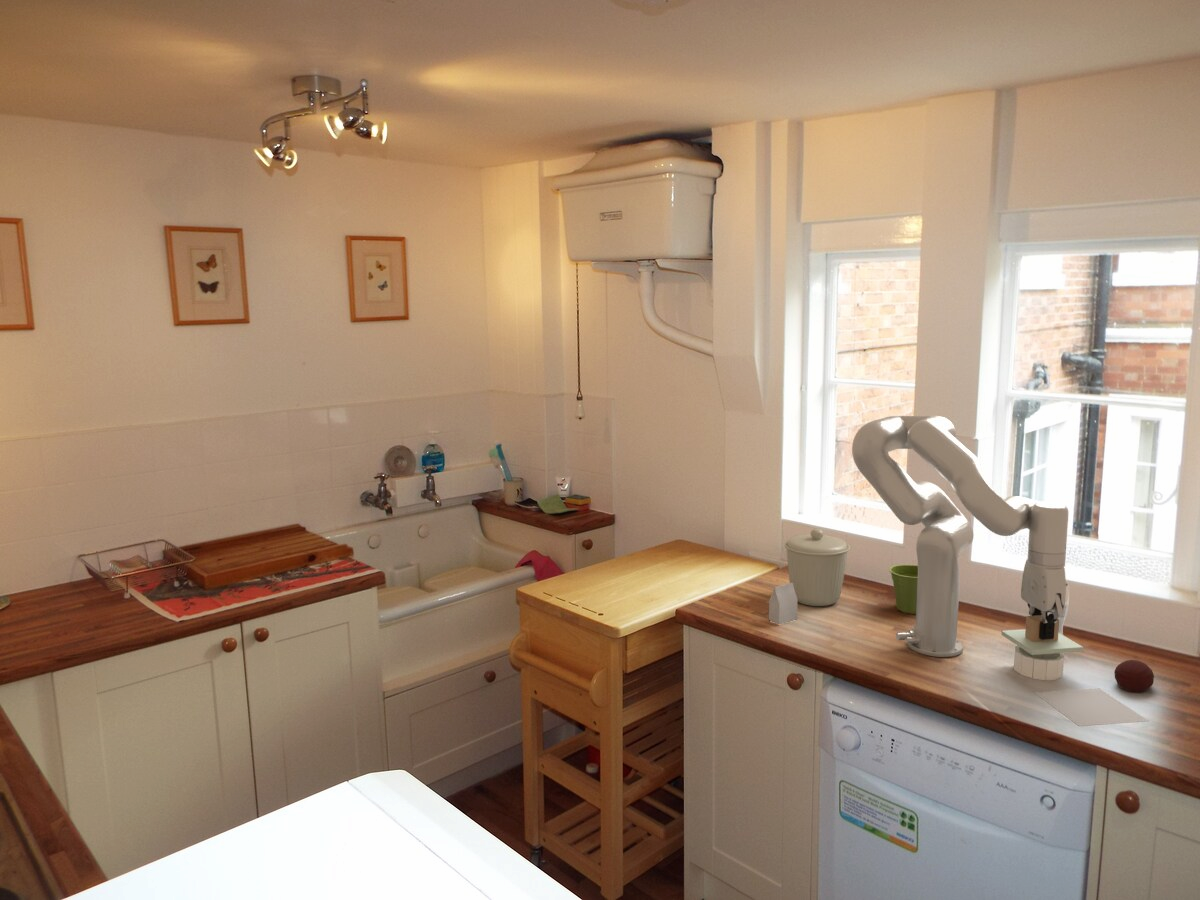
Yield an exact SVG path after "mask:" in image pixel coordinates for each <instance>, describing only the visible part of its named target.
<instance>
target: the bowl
mask: <svg viewBox="0 0 1200 900" xmlns="http://www.w3.org/2000/svg"><path fill="white" fill-rule="evenodd" d="M1013 656H1014V659H1013V670H1014V671H1016V672H1017V673H1019V674H1020V675H1021V676H1024V677H1028V678H1030V679H1034V680H1035V679H1036V680H1041V681H1054V680H1055V681H1056V680H1059V679H1060V678H1062V677H1063V676H1064V664H1065V654H1064V653H1053V654H1038V655H1031V654H1030V653H1028V652H1027V651H1025V650H1024V649H1022V648H1021V647H1019V646H1018V645H1015V647H1014V655H1013Z"/></svg>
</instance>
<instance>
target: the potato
mask: <svg viewBox="0 0 1200 900" xmlns="http://www.w3.org/2000/svg"><path fill="white" fill-rule="evenodd" d="M1114 678H1115V679H1114V680H1115V681H1116V683H1117V685H1118V686H1119V687H1120V688H1122V689H1123V690H1125V691H1128V692H1132V693H1142V692H1146V691H1147V690H1149V689H1150V688H1151V687H1152V686H1153V685H1154V681H1155V680H1154V679H1155V675H1154V673H1153V669H1152V668H1150V666H1148V664H1146V663H1145V662H1143V661H1140V660H1136V659H1129V660H1124V661H1122V662H1121V663H1119V664H1118V665H1117V666H1115V669H1114Z"/></svg>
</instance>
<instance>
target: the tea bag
mask: <svg viewBox="0 0 1200 900" xmlns="http://www.w3.org/2000/svg"><path fill="white" fill-rule="evenodd" d="M768 603H769V604H768V621H769V620H770V621H772V622H775V623H777V624H782V623H786V622H790V621H793V620H798V601H797V596H796V593H795V590H794V586H793V583H790V582H789V583H785V584H781V585H778V586H774V587H773V590H772V594H771V596H770V597H769V600H768ZM793 622H794V621H793ZM790 623H791V622H790Z"/></svg>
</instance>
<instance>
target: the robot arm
mask: <svg viewBox="0 0 1200 900" xmlns="http://www.w3.org/2000/svg"><path fill="white" fill-rule="evenodd" d="M956 432H957V431H956V427H955V426H954V424H953V423H952V422H951V421H950V420H949V419H948V418H946V417H944V416H940V415H891V416H887V417H883V418H878V419H874V420H871V421H869V422H866V423H865V424H863V425H862V426H861V427H860V428H859V429H858V431H857V432H856V434H855V435H854V438H853V441H852V444H851V445H852V447H851V453H852V455H851V456H852V459H853V461H854V464H855V466H856V467H857V469H858V470H859V472H860V474H862V476H863V477H864V478H865V479H866V480H867V482H868V483H869V484H870V485H871V486H872V488H873V489H874V490H875V491H876V492H877V493H876V494H878V495H879V496H880V499H882V500H883V502H884V503H885V504H886V506H887V507H888V508H889V509H890V510H891V512H892V513H893V514H894V516H895V517H896V519H898V520H899V521H900V522H901V523H903V524H905V525H908V526H915V525H918V524H921V523H922V525H923V526H924V527H923V529H922V530H920V532H919V535H918V536H917V539H916V543H915V545H916V547H915V550H916V559H917V560H916V562H917V565H918V581H917V604H916V614H915V626H911V628H910V630H908V631H907V632H904V631H902V632H901V631H900V632H896V633H895V639H896V641H905V643H906V644H908V647H909V649H911V650H913V651H914V652H916V653H919V654H922V655H923V656H924V655H925V656H930V657H936V658H950V657H951V658H952V657H956V656H958V655H960V654H962V653H963V650H964V645H963V644H962V643H961V642H960V641H959V640H958V639H957V634H958V620H959V619H958V617H959V601H960V584H961V583H960V580H961V579H960V565H959V555H960V554H962V553H963V552H965V551H966V550H967V549H968V548H969V547H970V546H971V545H972V543H973V540H974V531H973V530H974V529H973V527H972V525H971V523H970V522H969V519H967V518H966V516H965V515H964V514H963V513H962V512H961V511H960V510H959V508H958V507H957V506H956V504H954V502H953V501H952V500H951V499H950V498H949V496H948V495H947V493H945V491H944V490H943V489H941V487H939V486H938V485H936V484H935V483H934V482H930V481H928V480H927V481H926V480H919V481H914V479H912V477H911V476H910V475H909V474H908V472H906V470H905V469H904V468H903V467H902V465H900V464H899V463H898V462H897V461H895V459H893V458H892V457H891V456H890V455H889V454H890V452H892V451H895V450H913V451H914V452H915V453H916V454H917V455H918V456H919V457H921V458H922V459H923V461H925V462H926V463H927V464H928V465H929V466H931V467H932V468H933V469H934V470H935V471H936V472H937V473H939V475H940V476H941V477H942V478H944V479H945V480H946V481H947V482H948V484H950V485H951V487H952V489H953V491H954V493H955V494H956V496H957V497H958V499H959V501H960V502H961V503H962V505H963V506H964V508H965V509H966V510H967V511H968V512H969V513H970V514H971V515H972V516H973V518H975V519H977V521H978V522H980V523H981V524H982V525H983V526H984V527H985V528H987V529H988V531H990V532H992V533H994V534H995V535H998V536H1000V537H1010V536H1013V535H1015V534H1017V533H1018V532H1020V531H1021V530H1026V529H1028V543H1027V544H1028V545H1027V546H1028V547H1027V548H1028V549H1027V559H1026V561H1025V563H1024V568H1023V571H1022V572H1023V573H1022V578H1021V588H1020V597H1021V599H1022V601H1024V602H1025V603H1026V604H1027V607H1028V616H1036V615H1042V622H1040V632H1039V638H1040V639H1041V640H1045V639H1053V638H1054V628H1055V623H1056V622H1057V620H1058V619H1059V618H1063V617H1064V614H1063V609H1064V607H1065V599H1066V581H1067V580H1066V579H1067V578H1066V570H1065V569H1066V568H1065V567H1066V556H1067V555H1066V554H1067V541H1068V528H1069V527H1068V524H1069V509H1068V507H1067V506H1066V505H1065V504H1063V503H1059V502H1053V501H1039V500H1035V499H1032V498H1031V499H1030V498H1028V497H1024V496H1019V495H1018V496H1017V495H1013V496H1008V497H1006V498H1002V496H1000V495H999V494H998V493H997V492H996V491H995V490H994V489H993V488H992V487H991V486H990V485H989V483H987V481H986V479H985V478H984V476H983V473H982V468H981V463H980V460H979V458H978V457H977V456H976V455H975V454H974V453H973V452H972V451H971V450H969V449H968V448H967V447H966V446H965V445H964V444H962V443H961V442H960V441H959V440H958V439H957V438H956V434H957V433H956ZM1047 612H1051V614H1049V615H1048V613H1047Z"/></svg>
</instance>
